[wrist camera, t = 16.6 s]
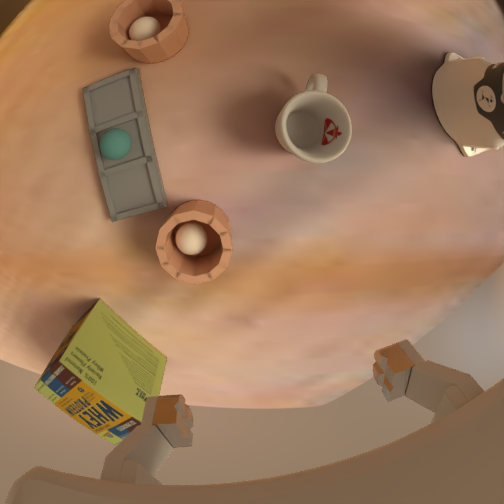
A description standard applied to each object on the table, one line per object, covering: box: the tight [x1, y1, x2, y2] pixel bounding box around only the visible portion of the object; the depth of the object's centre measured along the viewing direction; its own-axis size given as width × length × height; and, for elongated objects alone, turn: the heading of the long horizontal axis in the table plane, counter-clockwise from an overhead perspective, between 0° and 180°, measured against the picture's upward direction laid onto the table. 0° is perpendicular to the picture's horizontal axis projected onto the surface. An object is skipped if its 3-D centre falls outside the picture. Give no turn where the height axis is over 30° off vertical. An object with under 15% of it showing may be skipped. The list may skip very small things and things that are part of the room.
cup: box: [275, 73, 352, 163], centre depth 30 cm, size 11×8×8 cm
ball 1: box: [100, 128, 131, 160], centre depth 30 cm, size 4×4×4 cm
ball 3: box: [176, 223, 207, 255], centre depth 36 cm, size 4×4×4 cm
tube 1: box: [109, 0, 189, 63], centre depth 25 cm, size 9×9×7 cm
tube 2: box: [155, 200, 233, 284], centre depth 35 cm, size 9×9×7 cm
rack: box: [82, 68, 168, 222], centre depth 32 cm, size 19×8×2 cm, turn 11°
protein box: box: [34, 299, 167, 444], centre depth 36 cm, size 10×15×16 cm
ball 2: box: [129, 17, 161, 41], centre depth 25 cm, size 4×4×4 cm
